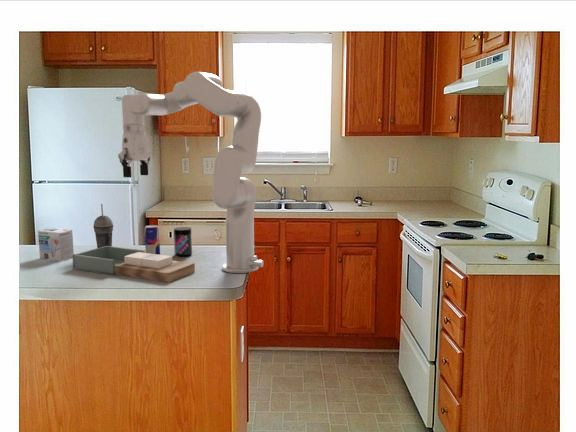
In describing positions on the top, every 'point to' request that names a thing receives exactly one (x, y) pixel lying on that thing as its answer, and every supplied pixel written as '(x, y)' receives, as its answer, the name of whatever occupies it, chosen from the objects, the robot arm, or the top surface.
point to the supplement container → (182, 241)
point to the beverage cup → (103, 230)
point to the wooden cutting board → (156, 271)
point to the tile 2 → (157, 261)
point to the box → (102, 259)
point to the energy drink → (152, 239)
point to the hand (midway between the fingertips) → (136, 176)
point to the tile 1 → (136, 258)
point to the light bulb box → (56, 244)
